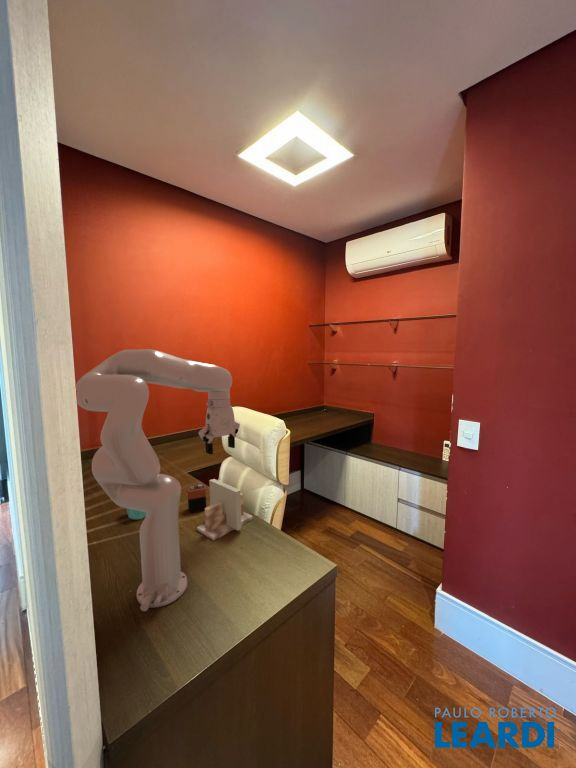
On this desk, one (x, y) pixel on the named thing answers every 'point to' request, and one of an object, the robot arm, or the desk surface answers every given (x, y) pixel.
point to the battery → (196, 498)
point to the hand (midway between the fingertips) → (220, 450)
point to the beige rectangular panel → (227, 501)
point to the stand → (219, 521)
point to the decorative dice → (135, 514)
